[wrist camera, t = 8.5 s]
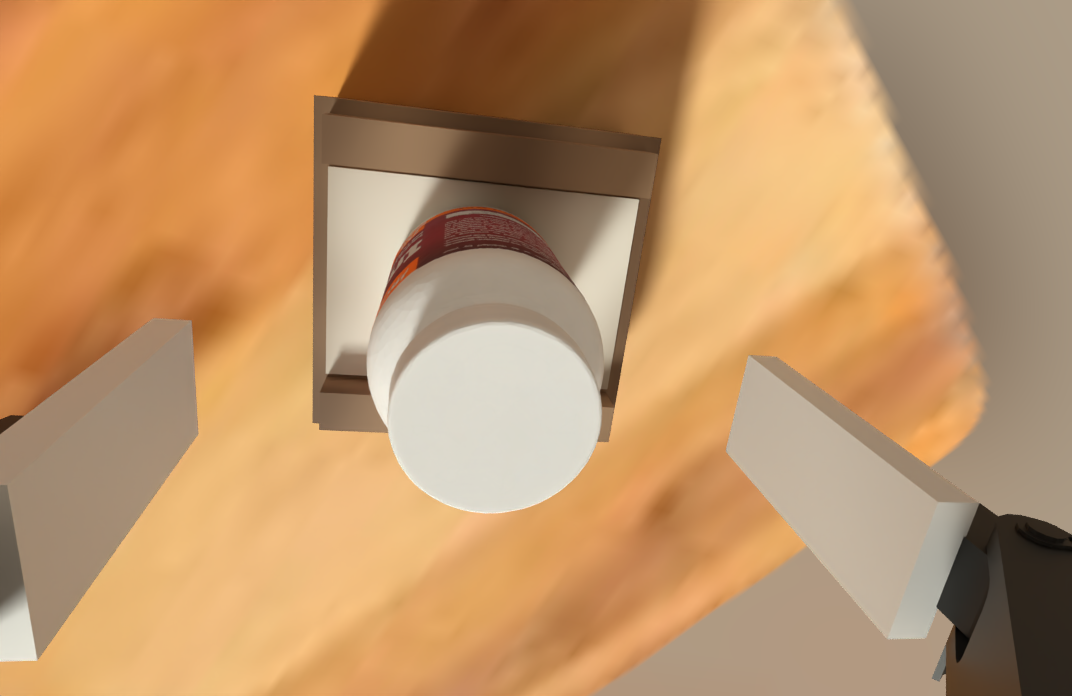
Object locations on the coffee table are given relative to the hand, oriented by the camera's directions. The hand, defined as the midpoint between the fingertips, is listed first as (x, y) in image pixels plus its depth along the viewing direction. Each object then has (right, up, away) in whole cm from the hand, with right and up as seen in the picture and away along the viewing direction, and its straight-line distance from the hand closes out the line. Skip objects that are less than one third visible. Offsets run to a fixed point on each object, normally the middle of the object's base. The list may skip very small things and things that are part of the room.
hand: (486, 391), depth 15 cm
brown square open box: (-2, +5, +14) cm, 15 cm away
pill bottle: (-1, +3, +9) cm, 10 cm away
